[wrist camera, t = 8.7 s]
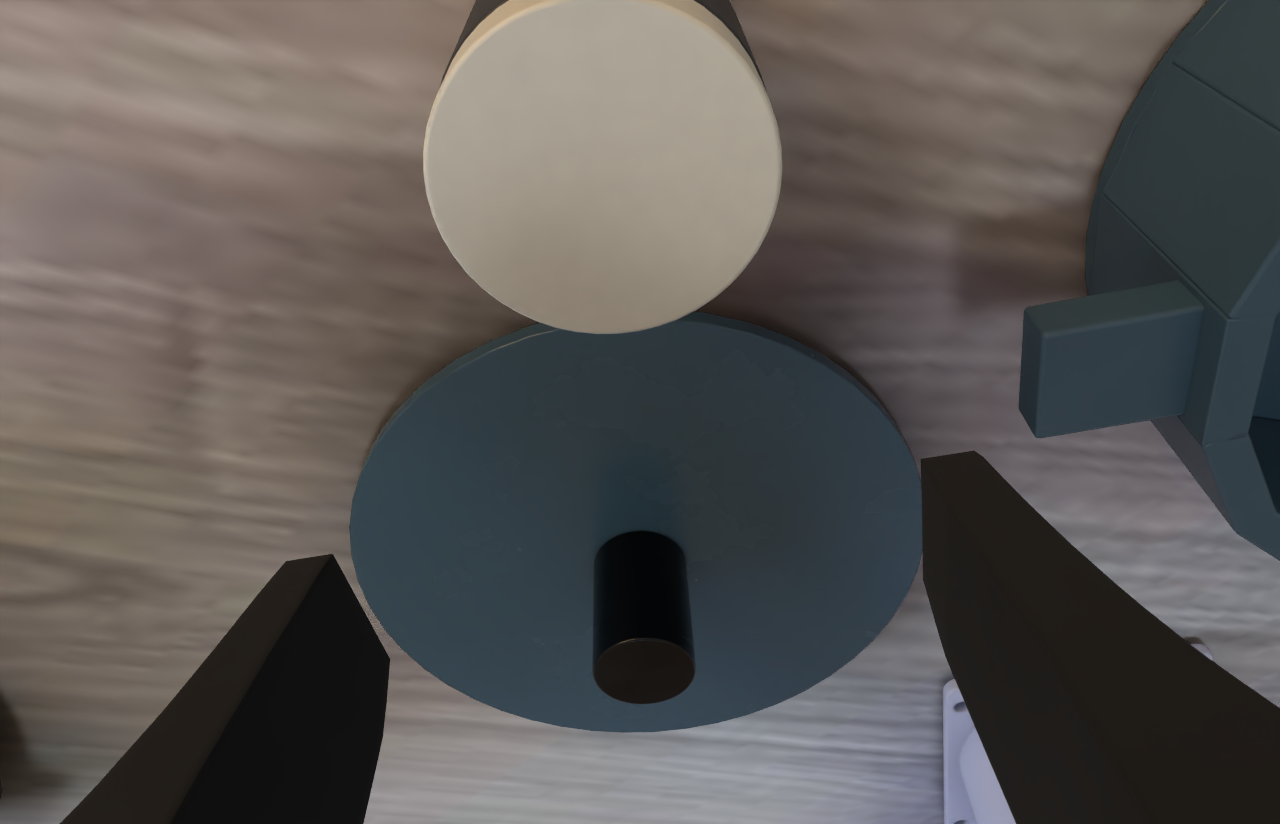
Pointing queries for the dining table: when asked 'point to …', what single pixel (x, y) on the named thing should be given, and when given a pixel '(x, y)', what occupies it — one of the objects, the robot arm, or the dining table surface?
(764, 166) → the cylinder
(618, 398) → the lid
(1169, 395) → the pot
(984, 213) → the dining table surface
